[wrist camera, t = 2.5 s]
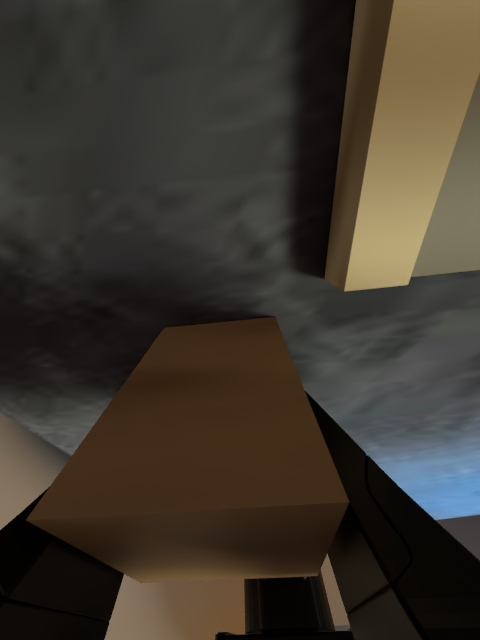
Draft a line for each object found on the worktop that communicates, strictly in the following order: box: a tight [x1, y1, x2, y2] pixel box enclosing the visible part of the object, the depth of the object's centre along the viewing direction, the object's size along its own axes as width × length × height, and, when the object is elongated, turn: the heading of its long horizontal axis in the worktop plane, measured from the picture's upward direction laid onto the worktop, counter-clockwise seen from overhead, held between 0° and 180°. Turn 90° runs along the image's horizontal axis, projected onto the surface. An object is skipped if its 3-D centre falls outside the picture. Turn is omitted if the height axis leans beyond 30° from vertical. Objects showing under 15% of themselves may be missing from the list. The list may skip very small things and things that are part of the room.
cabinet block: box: [26, 317, 349, 583], centre depth 7 cm, size 6×5×6 cm
